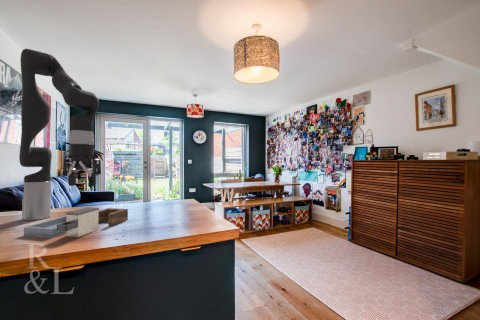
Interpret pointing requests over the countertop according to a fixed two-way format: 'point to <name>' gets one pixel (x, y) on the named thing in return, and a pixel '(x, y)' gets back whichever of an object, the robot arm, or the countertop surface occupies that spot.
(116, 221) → the cubby
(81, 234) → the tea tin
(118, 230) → the countertop surface
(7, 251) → the countertop surface
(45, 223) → the tray
